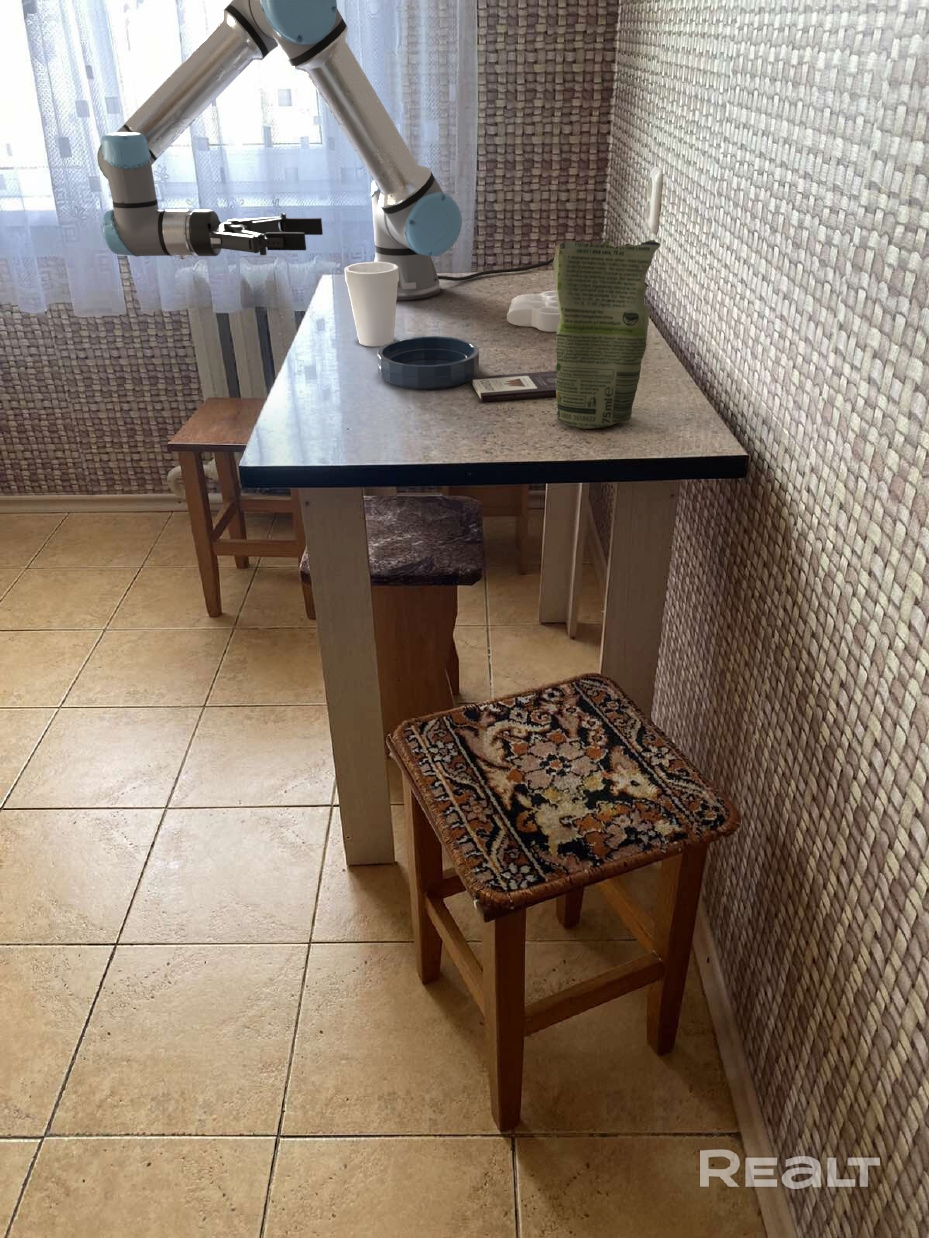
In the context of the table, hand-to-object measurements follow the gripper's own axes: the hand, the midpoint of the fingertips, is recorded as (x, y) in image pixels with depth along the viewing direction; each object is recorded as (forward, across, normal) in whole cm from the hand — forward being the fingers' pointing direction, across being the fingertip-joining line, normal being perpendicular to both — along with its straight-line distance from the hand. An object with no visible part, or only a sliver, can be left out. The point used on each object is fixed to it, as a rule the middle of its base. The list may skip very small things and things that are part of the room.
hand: (313, 233), depth 164 cm
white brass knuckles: (+41, -16, -19) cm, 48 cm away
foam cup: (+10, 0, -19) cm, 21 cm away
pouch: (+48, +38, -19) cm, 64 cm away
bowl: (+22, +19, -19) cm, 34 cm away
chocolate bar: (+39, +25, -19) cm, 50 cm away
